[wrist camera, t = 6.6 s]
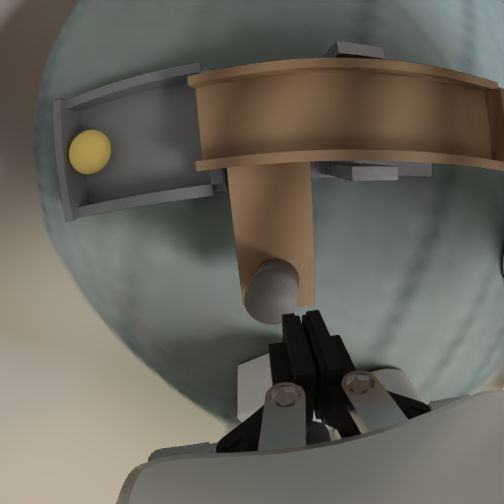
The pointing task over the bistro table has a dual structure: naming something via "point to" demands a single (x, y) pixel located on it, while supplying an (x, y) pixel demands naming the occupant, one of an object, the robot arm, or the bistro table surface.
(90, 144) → the ball
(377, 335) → the bistro table surface
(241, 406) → the medicine bottle
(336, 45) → the stand
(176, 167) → the tray
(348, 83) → the lever
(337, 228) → the bistro table surface
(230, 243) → the bistro table surface
